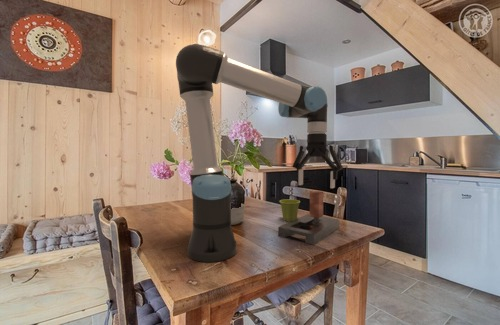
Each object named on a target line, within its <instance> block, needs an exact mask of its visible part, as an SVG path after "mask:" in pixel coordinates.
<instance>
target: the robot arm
mask: <svg viewBox="0 0 500 325" xmlns="http://www.w3.org/2000/svg"><path fill="white" fill-rule="evenodd" d="M175 69H176V75H177V76H176V77H177V81H178V82H177V83H178V90H179V97H180V98H181V100H183V101H184V102H185V110H186V118H187V126H188V133H189V134H188V135H189V143H190V149H191V150H190V151H191V159H192V166H193V168H192V170H191V171H190V173H189V179H190V186H191V196H192V230H191V233H190V237H189V241H188V245H187V248H186V249H187V256H188V258H190V259H191V260H194V261H197V262H202V263H204V262H205V263H214V262H221V261H225V260H228V259H230V258H232V257H234V256H235V255H236V254H237V252H238V251H237V250H238V245H237V241H236V239H235V235H234V231H233V229H232V228H233V227H232V225H231V203H232V185H231V180H230V178H229V177H227V176H225V175H223V169H222V168H221V167H219V165H218V158H217V151H216V141H215V133H214V124H213V116H212V108H211V99H212V97H213V96H214V88H213V84H214V85H218V84H220V83H222V84H224V85H228V86H230V87H234V88H237V89H238V90H242V91H245V92H248V93H251V94H253V95H257V96H259V97H262V98H266V99H268V100H270V101H273V102H277V103H278V106H277V107H278V108H277V109H278V114H279V116H280V117H282V118H287V119H290V118H292V119H293V118H296V119H297V118H298V119H306V120H307V122H306V123H307V130H306V132H307V133H308V134H307V135H306V143H307V145H306V146H305V145H300V146H299V151H298V153H297V155H296V158H295V160H294V161H293V163H292V167H293V168H294V169H295V170H296V177H297V179H298V182H297V183H298V186H303V185H304V169H303V168H304V166H305V165H306V163H308V161H309V160H310V159H311V158H317V157H318V158H323V160H324V161H325V163H326V164H327V165H328V166H329V167H330V169H331V171H330V178H329V179H330V181H329V182H330V186H329V188H330V189H335V188H336V180H338V173H339V171H342V170H343V169H344V167H343V165H342V162H341V160H340V158H339V156H338V155H337V152H336V149H335V148H336V146H335V145H331V144H330V145H328V146H327V142H328V141H327V139H328V138H327V137H328V136H327V131H328V130H327V129H328V128H327V127H328V123H327V122H328V96H327V93H326V91H325V89H323V88H322V87H320V86H319V85H318V86H317V85H315V86H310V87H307V86H304V85H301V84H299V83H296V82H293V81H291V80H288V79H285V78H282V77H280V76H277V75H275V74H272V73H269V72H267V71H264V70H261V69H259V68H256V67H254V66H250V65H248V64H246V63H243V62H240V61H238V60H235V59H232V58H230V57H228V56H227V53H226V52H224V51H222V50H219V49H216V48H213V47H211V46H207V45H203V44H197V43H196V44H195V43H194V44H188V45H186V46H184V47H182V48H181V49H180V50H179V51H178V53H177V55H176V59H175ZM306 151H307V153H305V152H306ZM326 151H328V152H329V153H330V156H331V158H332V159H333V161H332V159H331V158H330V156H328V153H326ZM304 154H305V156H304ZM303 156H304V157H303ZM302 158H303V159H302Z"/></svg>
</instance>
